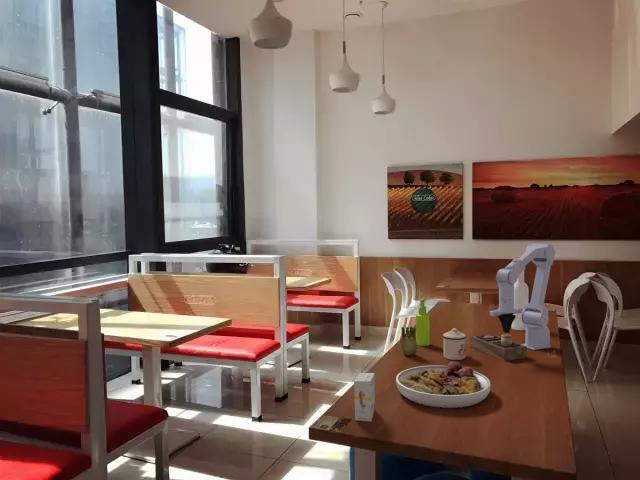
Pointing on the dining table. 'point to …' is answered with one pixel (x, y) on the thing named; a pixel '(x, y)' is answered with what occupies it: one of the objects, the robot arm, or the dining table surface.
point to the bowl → (443, 385)
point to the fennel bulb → (409, 341)
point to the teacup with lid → (454, 345)
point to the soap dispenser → (422, 325)
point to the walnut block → (498, 347)
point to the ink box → (364, 396)
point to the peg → (506, 339)
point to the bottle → (520, 301)
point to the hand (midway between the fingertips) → (506, 332)
